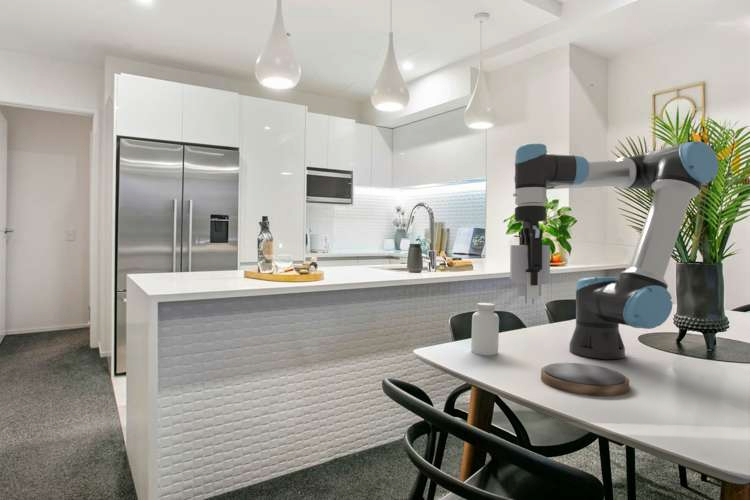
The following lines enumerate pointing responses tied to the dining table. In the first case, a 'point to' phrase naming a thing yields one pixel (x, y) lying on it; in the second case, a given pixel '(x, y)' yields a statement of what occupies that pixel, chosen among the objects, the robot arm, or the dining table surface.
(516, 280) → the charger
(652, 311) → the robot arm
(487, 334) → the pill bottle
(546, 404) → the dining table surface
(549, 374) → the round mirror
